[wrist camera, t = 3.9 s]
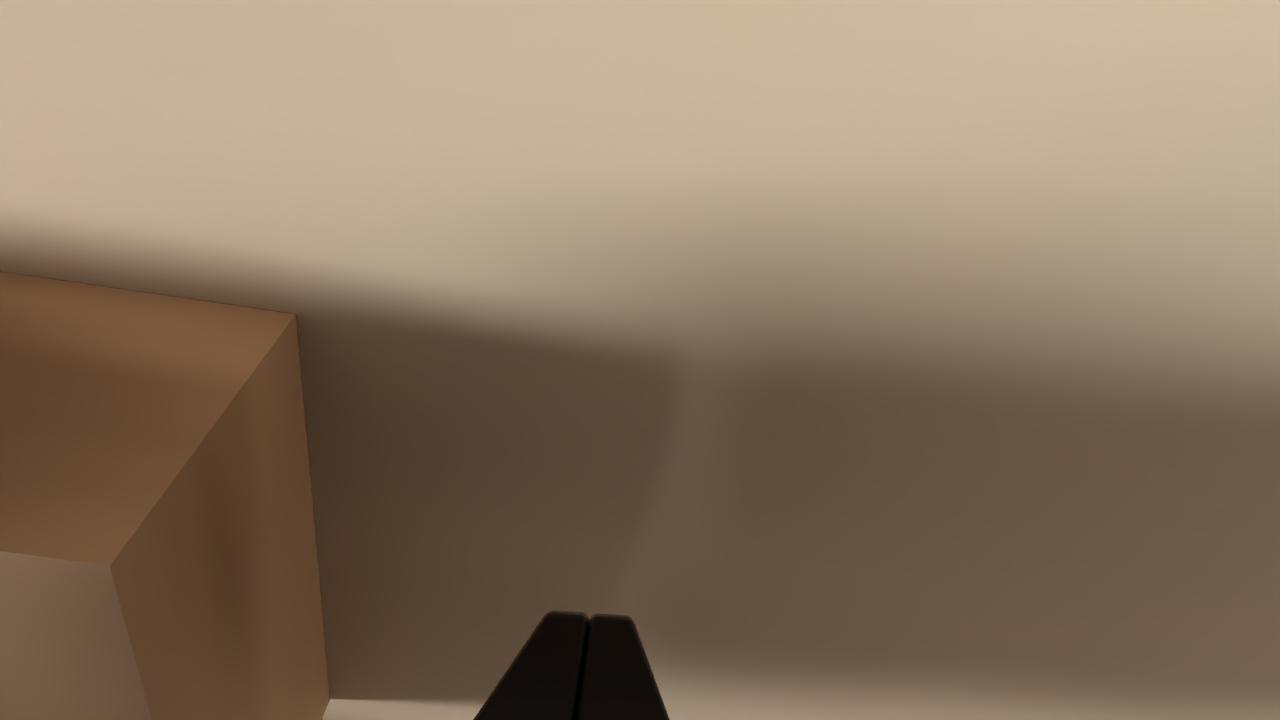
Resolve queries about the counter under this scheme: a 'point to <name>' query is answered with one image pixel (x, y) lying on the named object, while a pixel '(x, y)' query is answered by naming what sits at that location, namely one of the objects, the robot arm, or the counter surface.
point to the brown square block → (154, 510)
